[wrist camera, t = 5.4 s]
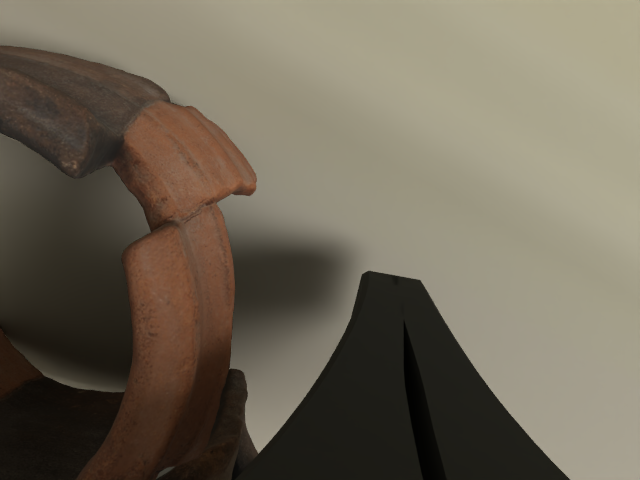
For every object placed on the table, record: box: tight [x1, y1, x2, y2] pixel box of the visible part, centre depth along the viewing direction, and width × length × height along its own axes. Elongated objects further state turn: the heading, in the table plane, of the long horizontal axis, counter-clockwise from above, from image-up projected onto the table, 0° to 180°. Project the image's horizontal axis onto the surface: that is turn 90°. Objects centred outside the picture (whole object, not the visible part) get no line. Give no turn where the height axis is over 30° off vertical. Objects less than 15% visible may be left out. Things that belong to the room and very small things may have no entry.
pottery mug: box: [0, 46, 258, 480], centre depth 10 cm, size 12×10×8 cm
